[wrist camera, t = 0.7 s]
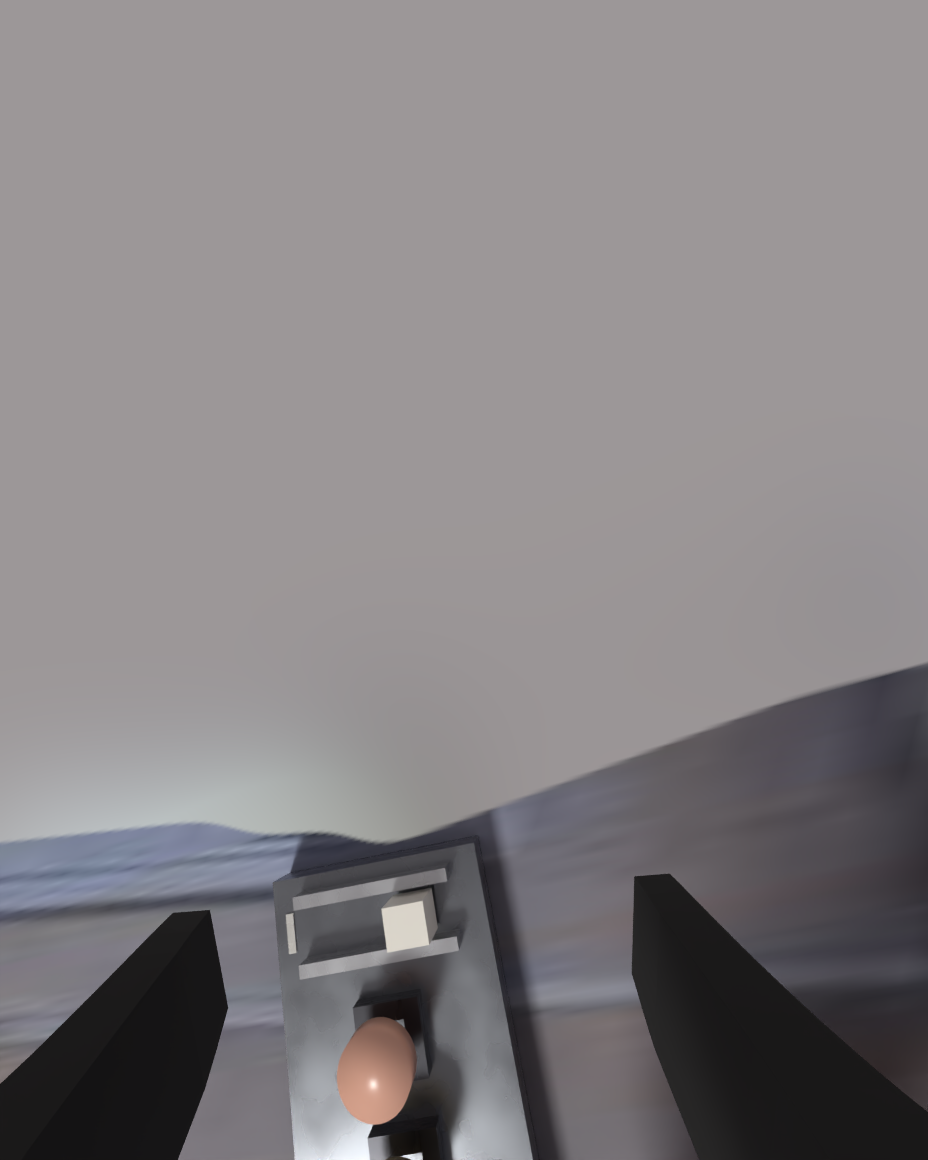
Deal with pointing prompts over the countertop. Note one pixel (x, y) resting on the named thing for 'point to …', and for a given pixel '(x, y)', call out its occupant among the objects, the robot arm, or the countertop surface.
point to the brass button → (398, 1158)
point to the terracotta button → (377, 1070)
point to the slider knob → (409, 920)
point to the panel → (401, 1009)
